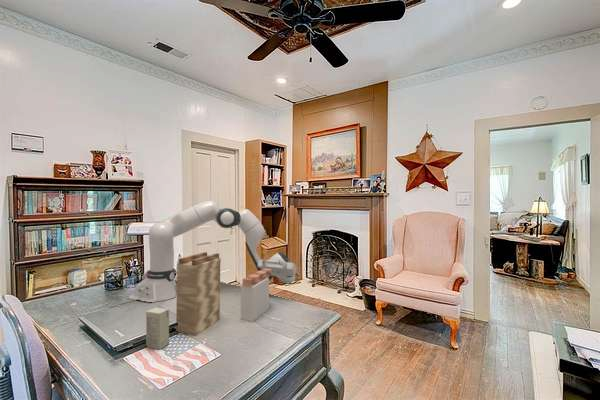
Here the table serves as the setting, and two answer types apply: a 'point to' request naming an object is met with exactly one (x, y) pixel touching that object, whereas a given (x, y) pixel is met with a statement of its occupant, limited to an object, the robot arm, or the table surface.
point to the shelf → (254, 300)
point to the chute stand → (198, 292)
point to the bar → (256, 277)
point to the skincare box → (157, 328)
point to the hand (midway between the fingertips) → (271, 261)
